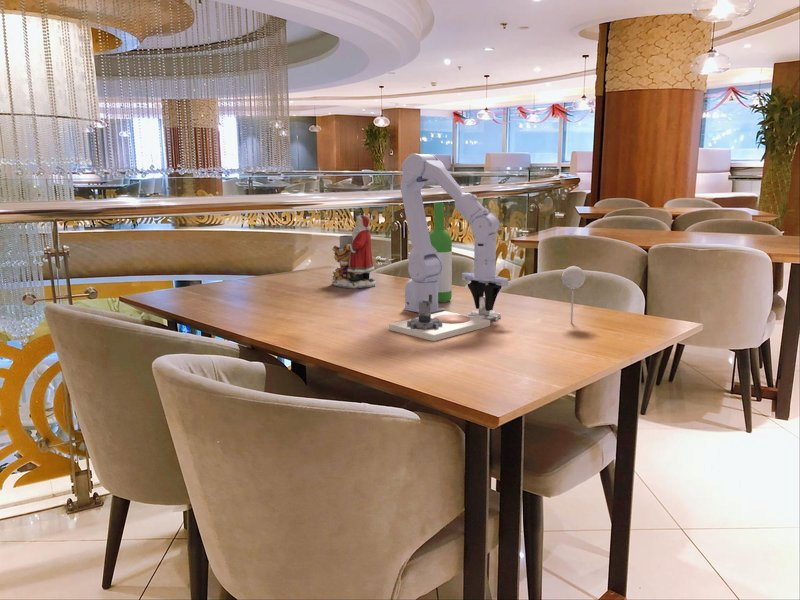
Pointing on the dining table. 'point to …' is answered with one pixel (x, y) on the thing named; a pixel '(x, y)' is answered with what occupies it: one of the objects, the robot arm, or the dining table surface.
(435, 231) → the wine bottle
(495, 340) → the dining table surface
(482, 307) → the aluminium gear
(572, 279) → the lollipop
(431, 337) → the gear board
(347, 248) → the santa figurine
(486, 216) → the robot arm
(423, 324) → the crank gear
